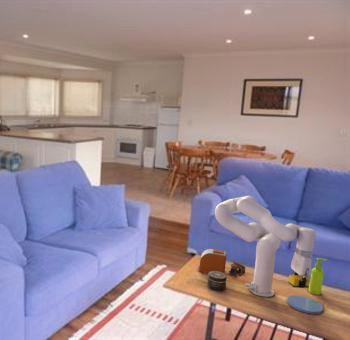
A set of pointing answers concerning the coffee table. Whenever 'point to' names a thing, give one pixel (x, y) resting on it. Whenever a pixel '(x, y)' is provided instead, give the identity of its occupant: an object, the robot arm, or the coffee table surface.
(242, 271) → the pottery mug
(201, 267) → the brown toaster
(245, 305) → the coffee table surface
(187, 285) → the coffee table surface
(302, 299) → the plate
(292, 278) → the sponge
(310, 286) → the soap dispenser
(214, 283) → the jar
